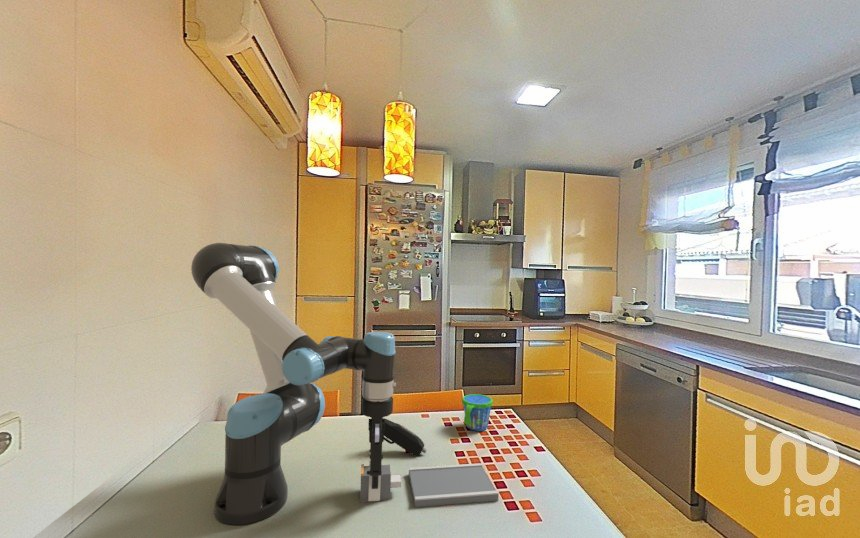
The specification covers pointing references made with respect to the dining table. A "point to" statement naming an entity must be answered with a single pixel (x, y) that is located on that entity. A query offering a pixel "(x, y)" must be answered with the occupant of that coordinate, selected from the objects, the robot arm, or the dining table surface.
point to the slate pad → (451, 485)
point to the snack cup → (477, 411)
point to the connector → (386, 482)
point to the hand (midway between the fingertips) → (374, 493)
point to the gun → (403, 438)
